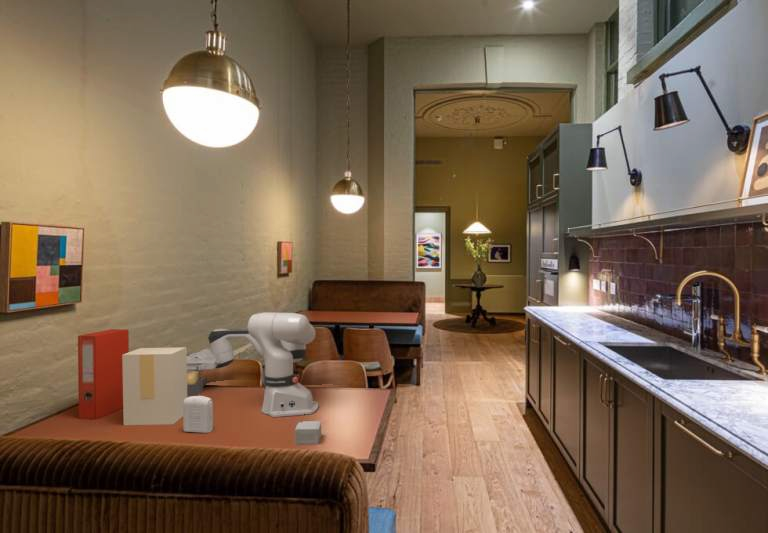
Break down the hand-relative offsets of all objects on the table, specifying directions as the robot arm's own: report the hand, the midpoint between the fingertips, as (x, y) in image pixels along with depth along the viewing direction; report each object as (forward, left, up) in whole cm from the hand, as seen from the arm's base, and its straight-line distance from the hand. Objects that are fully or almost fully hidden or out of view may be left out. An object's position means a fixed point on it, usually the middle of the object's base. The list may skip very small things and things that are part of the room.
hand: (187, 368), depth 203 cm
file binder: (+25, +19, -13) cm, 34 cm away
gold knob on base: (+1, -11, -13) cm, 17 cm away
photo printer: (-21, +42, -13) cm, 49 cm away
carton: (0, +29, -13) cm, 31 cm away
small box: (-61, +52, -13) cm, 81 cm away
